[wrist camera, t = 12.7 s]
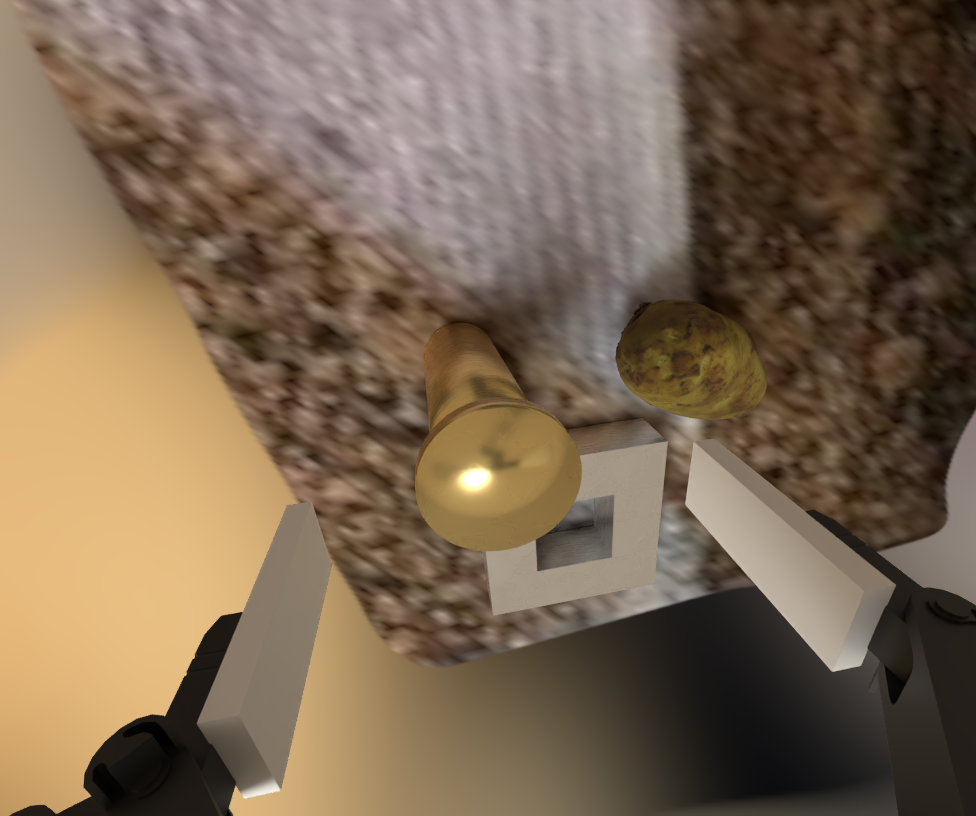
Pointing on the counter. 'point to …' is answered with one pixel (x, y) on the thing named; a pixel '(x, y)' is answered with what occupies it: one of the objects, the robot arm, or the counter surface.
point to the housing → (600, 548)
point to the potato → (690, 361)
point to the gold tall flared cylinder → (489, 449)
